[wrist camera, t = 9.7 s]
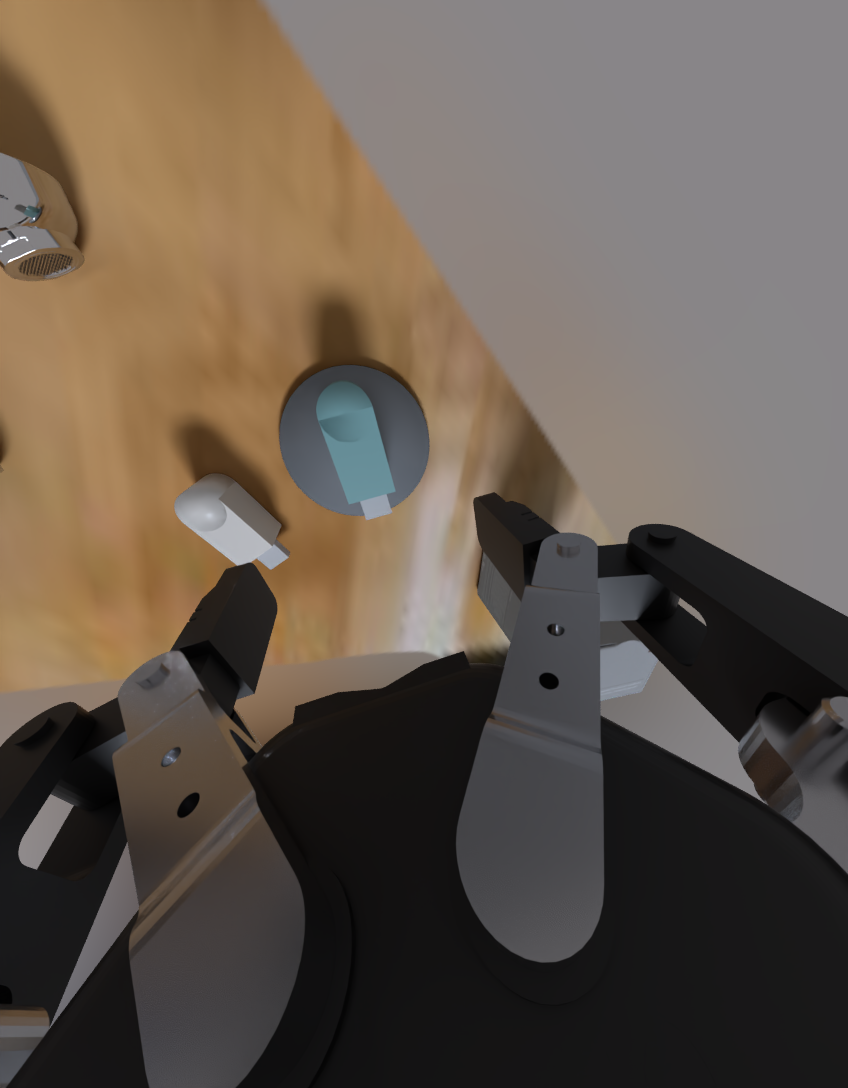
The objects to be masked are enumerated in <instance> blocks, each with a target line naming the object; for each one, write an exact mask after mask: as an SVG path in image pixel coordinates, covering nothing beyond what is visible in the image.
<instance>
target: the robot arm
mask: <svg viewBox="0 0 848 1088" xmlns="http://www.w3.org/2000/svg"><path fill="white" fill-rule="evenodd" d="M473 504H474V512H475V520H476V528H477V535H478V540H479V543H480V546H481V548H482V550H483V551H484V553H485V554H486V555H487V557H488V558H489V559H490V561H491V562H492V563H493V565H494V566H495V567H496V569H497V570H498V571H499V573H500V574H501V576H502V577H503V578H504V580H505V581H506V582H507V584H508V585H509V586H510V588H511V589H512V590H513V592H514V593H515V594H516V596H517V597H518V598H519V600H520V601H521V605H520V609H519V613H518V617H517V620H516V624H515V628H514V632H513V636H512V639H511V643H510V647H509V651H508V655H507V659H506V662H505V666H504V667H503V666H499V665H494V664H487V663H471V664H469V662H468V660H467V658H466V655H465V653H464V651H463V652H460V653H456V654H453V655H450V656H447V657H444V658H441V659H438V660H435V661H432V662H429V663H426V664H423V665H422V666H420V667H418V668H417V669H415V670H413V671H412V672H410V673H408V674H406V675H405V676H403V677H401V678H400V679H398V680H396V681H395V682H393V683H391V684H390V685H388V686H386V687H384V688H381V689H373V690H361V691H348V692H338V693H335V694H332V695H329V696H325V697H323V698H319V699H316V700H313V701H310V702H307V703H305V704H301V705H298V706H296V707H295V713H294V719H293V723H292V724H291V725H289V726H288V727H286V728H285V729H283V730H282V731H281V732H279V733H278V734H277V735H275V736H274V737H273V738H272V739H271V740H269V741H268V742H267V743H266V744H265V745H264V746H263V747H262V746H261V745H260V743H259V742H258V740H257V738H256V737H255V736H254V734H253V733H252V731H251V730H250V728H249V727H248V725H247V724H246V722H245V721H244V719H243V718H242V716H241V715H240V713H239V712H238V711H237V710H236V709H235V708H234V705H235V702H236V700H237V699H239V698H243V697H246V696H249V695H252V694H254V693H255V690H256V686H257V683H258V679H259V676H260V672H261V669H262V665H263V662H264V658H265V654H266V651H267V647H268V644H269V640H270V636H271V633H272V629H273V626H274V622H275V618H276V615H277V602H276V599H275V597H274V595H273V593H272V592H271V590H270V588H269V587H268V585H267V584H266V582H265V580H264V579H263V577H262V575H261V574H260V572H259V571H258V569H257V568H256V566H255V565H254V564H253V563H250V562H249V563H245V564H242V565H238V566H235V567H231V568H228V569H226V570H225V571H224V573H223V574H222V576H221V578H220V580H219V581H218V583H217V585H216V586H215V587H214V588H213V589H212V590H211V591H210V592H209V593H208V594H207V595H206V596H205V597H204V598H202V600H201V601H200V603H199V605H198V606H197V608H196V610H195V612H194V613H193V614H192V616H191V618H190V619H189V621H190V622H188V623H187V624H186V626H185V627H184V629H183V631H182V632H181V634H180V635H179V637H178V639H177V640H176V642H175V644H174V645H173V647H172V648H171V650H170V652H167V653H164V654H161V655H159V656H157V657H155V658H153V659H151V660H149V661H148V662H146V663H145V664H143V665H142V666H141V667H139V668H138V669H137V670H136V671H134V672H133V673H132V674H131V675H130V676H129V677H128V678H127V679H126V681H125V682H124V683H123V685H122V686H121V688H120V690H119V692H118V697H117V698H115V699H113V700H111V701H109V702H107V703H106V704H104V705H102V706H100V707H98V708H96V709H94V710H92V711H90V712H87V711H86V710H84V709H83V708H82V707H80V706H79V705H77V704H76V703H74V702H67V703H63V704H59V705H57V706H54V707H52V708H50V709H48V710H46V711H44V712H43V713H41V714H39V715H38V716H36V717H34V718H33V719H32V720H30V721H29V722H27V723H26V724H25V725H24V726H22V727H21V728H19V729H18V730H17V731H16V732H15V733H14V734H12V736H10V737H9V738H8V739H7V740H6V741H5V742H4V743H3V744H2V746H1V747H0V1088H848V617H847V616H845V615H843V614H842V613H840V612H838V611H836V610H834V609H832V608H830V607H828V606H826V605H825V604H823V603H821V602H819V601H817V600H815V599H813V598H812V597H810V596H808V595H806V594H804V593H802V592H800V591H798V590H797V589H795V588H793V587H791V586H789V585H787V584H785V583H783V582H782V581H780V580H778V579H776V578H774V577H772V576H770V575H768V574H766V573H765V572H763V571H761V570H759V569H757V568H755V567H753V566H752V565H750V564H748V563H746V562H744V561H742V560H740V559H738V558H737V557H735V556H733V555H731V554H729V553H727V552H725V551H723V550H721V549H720V548H718V547H716V546H714V545H712V544H710V543H708V542H706V541H705V540H703V539H701V538H699V537H697V536H695V535H693V534H691V533H690V532H688V531H686V530H684V529H681V528H678V527H675V526H670V525H663V524H647V525H641V526H638V527H636V528H634V529H632V530H631V531H630V533H629V537H628V543H627V544H616V545H605V546H597V544H596V543H595V542H594V541H593V540H592V539H591V538H589V537H587V536H584V535H581V534H576V533H559V532H558V531H557V530H556V529H554V528H553V527H552V526H550V525H549V524H548V523H547V522H545V521H544V520H543V519H542V518H539V516H538V515H536V514H535V513H534V512H533V513H532V511H531V510H530V509H529V508H527V507H526V506H525V505H523V504H520V503H517V502H513V501H510V502H506V501H504V500H503V499H502V498H501V497H500V496H499V495H497V494H496V493H495V492H493V493H490V494H486V495H483V496H479V497H476V498H474V501H473ZM680 598H681V599H683V600H684V601H685V602H687V603H688V604H689V605H691V606H692V607H693V608H695V609H696V610H697V611H698V612H699V613H700V614H701V615H702V617H703V618H704V620H705V622H706V625H707V626H705V625H704V624H703V623H702V622H700V621H699V620H698V619H696V618H695V617H694V616H693V615H691V614H690V613H689V612H687V611H686V610H685V609H684V608H682V607H681V606H680V605H679V604H678V602H679V599H680ZM600 621H621V622H622V623H623V624H624V625H625V626H626V627H627V628H628V629H629V630H630V631H631V632H632V633H633V634H634V635H635V636H636V637H637V638H638V639H639V640H640V641H641V642H642V643H643V644H644V645H645V646H646V647H647V648H648V649H649V651H650V652H651V653H652V654H653V655H654V656H655V657H656V658H657V659H658V660H659V661H660V662H661V663H662V664H663V665H664V666H665V667H666V668H667V669H668V670H669V671H670V672H671V673H672V674H673V675H674V676H675V677H676V678H677V679H678V680H679V681H680V682H681V683H682V684H683V685H684V687H686V689H687V690H688V691H689V692H690V693H691V694H692V695H693V696H694V697H695V698H696V699H697V700H698V701H699V702H700V703H701V704H702V705H703V706H704V707H705V708H706V709H707V710H708V711H709V712H710V713H711V714H712V715H713V716H714V717H715V718H716V719H717V720H718V721H719V722H720V723H721V725H723V727H725V729H726V730H727V731H728V732H729V733H731V735H732V736H733V737H734V738H735V739H736V740H737V741H738V742H739V747H738V753H739V758H740V761H741V764H742V766H743V768H744V769H745V771H746V773H747V774H748V776H749V777H750V779H751V780H752V781H753V783H754V787H755V790H756V792H757V793H758V795H759V796H760V798H761V799H762V800H763V801H764V802H765V803H766V804H765V803H763V802H762V801H760V800H758V799H757V798H755V797H753V796H751V795H750V794H748V793H746V792H745V791H743V790H741V789H739V788H737V787H735V786H733V785H731V784H729V783H727V782H726V781H724V780H722V779H720V778H718V777H716V776H714V775H712V774H711V773H709V772H707V771H705V770H702V769H701V768H699V767H697V766H695V765H694V764H691V763H690V762H688V761H686V760H684V759H682V758H680V757H678V756H676V755H674V754H673V753H671V752H669V751H667V750H665V749H663V748H661V747H659V746H658V745H656V744H654V743H652V742H650V741H648V740H646V739H644V738H642V737H641V736H638V735H637V734H635V733H633V732H631V731H629V730H627V729H625V728H624V727H622V726H620V725H618V724H616V723H614V722H612V721H610V720H608V719H607V718H605V717H603V716H601V715H600ZM50 794H52V795H54V796H56V797H58V798H60V799H62V800H64V801H66V802H68V803H70V804H72V805H74V806H73V808H72V810H71V812H70V813H69V815H68V817H67V819H66V820H65V822H64V824H63V825H62V827H61V829H60V831H59V832H58V834H57V836H56V838H55V839H54V841H53V843H52V845H51V846H50V848H49V850H48V852H47V853H46V855H45V857H44V858H43V860H42V862H41V864H40V865H39V867H38V869H37V870H36V869H33V868H30V867H27V866H25V865H23V864H22V863H21V862H20V860H19V856H18V850H19V845H20V842H21V839H22V837H23V836H24V834H25V832H26V831H27V829H28V828H29V826H30V824H31V823H32V822H33V820H34V818H35V817H36V815H37V814H38V812H39V811H40V809H41V807H42V806H43V804H44V803H45V801H46V800H47V798H48V797H49V795H50ZM767 804H768V805H767ZM127 842H128V848H129V854H130V859H131V865H132V870H133V875H134V881H135V887H136V892H137V898H138V904H139V910H138V911H137V913H136V914H135V915H134V916H133V918H132V919H131V920H130V922H129V923H128V925H127V926H126V927H125V928H124V930H123V931H122V933H121V934H120V935H119V937H118V938H117V939H116V941H115V942H114V943H113V945H112V946H111V948H110V949H109V950H108V951H107V953H106V954H105V955H104V957H103V958H102V959H101V961H100V962H99V963H98V965H97V966H96V967H95V969H94V970H93V972H92V973H91V974H90V975H89V977H88V978H87V980H86V981H85V982H84V984H83V985H82V986H81V988H80V989H79V990H78V992H77V993H76V994H75V996H74V997H73V998H72V1000H71V1001H70V1002H69V1004H68V1005H67V1006H66V1008H65V1009H64V1011H63V1012H62V1013H61V1014H60V1016H59V1017H58V1018H57V1020H56V1021H55V1022H54V1024H53V1025H52V1026H51V1028H50V1025H51V1023H52V1021H53V1018H54V1016H55V1013H56V1011H57V1009H58V1006H59V1004H60V1001H61V999H62V997H63V994H64V992H65V989H66V987H67V985H68V982H69V980H70V977H71V975H72V973H73V970H74V968H75V966H76V963H77V961H78V958H79V956H80V954H81V951H82V949H83V946H84V944H85V942H86V939H87V937H88V934H89V932H90V929H91V927H92V925H93V922H94V920H95V918H96V915H97V913H98V910H99V908H100V906H101V903H102V901H103V898H104V896H105V894H106V891H107V889H108V887H109V884H110V882H111V879H112V877H113V874H114V872H115V870H116V867H117V865H118V863H119V860H120V858H121V855H122V853H123V851H124V848H125V846H126V843H127ZM49 1028H50V1029H49Z"/></svg>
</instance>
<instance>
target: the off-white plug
mask: <svg viewBox="0 0 848 1088" xmlns="http://www.w3.org/2000/svg"><path fill="white" fill-rule="evenodd" d="M174 507H175V512H176V514H177V516H178V518H179V519H180V520H181V521H182V522H183V523H184V524H185V525H186V526H188V527H189V528H190V529H192V530H193V531H194V532H195V533H197V534H198V535H199V536H201V537H202V538H203V539H204V540H206V541H207V542H208V543H210V544H211V545H212V546H213V547H215V548H216V549H217V550H218V551H220V552H221V553H222V554H224V555H225V556H226V557H227V558H229V559H230V560H231V561H233V562H234V563H235V564H236V565H242V564H245V563H249V562H252V561H253V560H254V559H256V558H257V559H258V560H260V561H261V562H262V563H263V564H264V565H266V566H267V567H268V568H269V569H270V570H271V569H273V568H274V567H275V566H277V565H278V564H280V563H281V562H283V561H284V560H286V559H287V558H288V557H289V555H290V551H288V550H287V549H286V548H285V547H284V546H283V545H282V544H281V543H280V542H278V541H277V540H276V537H277V535H278V533H279V530H280V528H281V524H280V523H279V522H278V521H277V520H276V519H275V518H274V517H273V516H272V515H271V514H270V513H269V512H268V511H266V510H265V509H264V508H263V507H262V506H261V505H260V504H259V503H258V502H257V501H256V500H255V499H254V498H253V497H252V496H251V495H250V494H248V493H247V492H246V491H245V490H244V489H243V488H242V487H241V486H240V485H239V484H238V483H237V482H236V481H235V480H233V479H232V478H231V477H229V476H227V475H224V474H219V473H212V474H208V475H206V476H204V477H203V478H201V479H200V480H199V481H197V482H196V483H195V484H193V485H192V486H191V487H189V488H188V489H187V490H186V491H184V492H183V493H182V494H180V495H179V496H178V497H177V499H176V501H175V505H174Z"/></svg>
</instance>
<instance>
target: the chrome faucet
mask: <svg viewBox="0 0 848 1088" xmlns="http://www.w3.org/2000/svg"><path fill="white" fill-rule="evenodd" d="M77 233H78V223H77V218H76V216H75V214H74V211H73V209H72V207H71V205H70V202H69V200H68V198H67V196H66V193H65V191H64V189H63V187H62V186H61V184H60V183H59V182H58V181H57V180H56V179H55V178H54V177H53V176H51V175H50V174H48V173H46V172H45V171H43V170H41V169H40V168H38V167H36V166H34V165H32V164H30V163H27V162H25V161H22V160H20V159H18V158H15V157H12V156H10V155H7V154H4V153H1V152H0V267H1V268H2V270H3V271H4V272H5V273H6V274H7V275H8V276H10V277H11V278H14V279H17V280H22V281H45V280H51V279H56V278H59V277H61V276H63V275H66V274H68V273H70V272H72V271H75V270H77V269H79V268H80V267H81V266H82V265H83V264H84V261H85V258H84V255H83V254H82V253H81V252H80V250H79V249H78V248H77V246H76V245H75V244H74V242H75V240H76V237H77ZM3 471H4V469H3V468H2V467H1V465H0V473H1V472H3Z"/></svg>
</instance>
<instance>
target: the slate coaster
mask: <svg viewBox="0 0 848 1088" xmlns="http://www.w3.org/2000/svg"><path fill="white" fill-rule="evenodd" d="M339 380H348V381H351V382H354V383H355V384H357V385H358V386H360V387H361V388H362V389H363V391H364V392H365V393H366V395H367V396H368V398H369V399H370V401H371V403H372V406H373V410H374V414H375V417H376V421H377V425H378V428H379V432H380V436H381V439H382V443H383V447H384V450H385V454H386V458H387V462H388V465H389V469H390V473H391V476H392V480H393V484H394V487H395V491H396V492H392V493H389V494H387V498H388V501H389V504H390V508H392V507H394V506H396V505H398V504H399V503H401V502H402V501H403V500H404V499H405V498H407V497H408V496H409V495H410V494H411V493H412V491H413V490H414V489H415V488H416V486H417V485H418V483H419V482H420V480H421V478H422V476H423V474H424V471H425V469H426V465H427V461H428V456H429V434H428V428H427V424H426V421H425V418H424V416H423V413H422V411H421V409H420V407H419V405H418V404H417V402H416V401H415V399H414V398H413V397H412V395H411V394H410V393H409V392H408V391H407V390H406V389H405V387H404V386H402V385H401V384H400V383H399V382H397V381H396V380H395V379H393V378H392V377H390V376H388V375H387V374H385V373H383V372H380V371H378V370H376V369H372V368H369V367H365V366H358V365H341V366H335V367H331V368H328V369H325V370H322V371H320V372H318V373H316V374H314V375H312V376H311V377H309V378H308V379H307V380H305V381H304V382H303V383H302V384H301V385H300V386H299V387H298V388H297V389H296V390H295V392H294V393H293V394H292V396H291V397H290V399H289V401H288V403H287V405H286V406H285V409H284V412H283V415H282V418H281V424H280V436H279V439H280V449H281V453H282V457H283V460H284V463H285V466H286V468H287V470H288V472H289V474H290V476H291V477H292V479H293V480H294V482H295V483H296V485H297V486H298V487H299V488H300V489H301V490H302V491H303V493H305V494H306V495H307V496H308V497H309V498H310V499H312V500H313V501H315V502H316V503H317V504H319V505H321V506H323V507H325V508H326V509H329V510H331V511H334V512H337V513H341V514H345V515H353V516H364V515H365V514H364V512H363V509H362V506H361V503H360V502H356V503H353V504H349V503H348V501H347V498H346V495H345V492H344V490H343V487H342V484H341V482H340V479H339V476H338V473H337V471H336V468H335V465H334V462H333V460H332V457H331V454H330V451H329V449H328V446H327V443H326V441H325V438H324V435H323V432H322V430H321V427H320V424H319V421H318V418H317V413H316V406H317V401H318V398H319V396H320V394H321V393H322V392H323V390H324V389H325V388H327V387H328V386H329V385H330V384H331V383H333V382H335V381H339Z"/></svg>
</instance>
